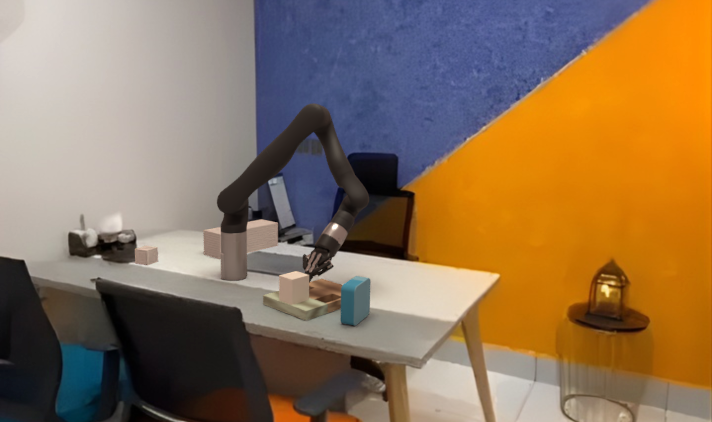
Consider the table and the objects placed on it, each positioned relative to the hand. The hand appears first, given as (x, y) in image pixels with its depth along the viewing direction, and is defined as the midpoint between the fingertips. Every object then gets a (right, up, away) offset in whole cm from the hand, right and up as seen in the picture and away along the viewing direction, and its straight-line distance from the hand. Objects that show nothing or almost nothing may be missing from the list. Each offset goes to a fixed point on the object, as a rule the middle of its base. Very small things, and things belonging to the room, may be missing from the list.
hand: (303, 283), depth 185 cm
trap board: (+3, -7, +5) cm, 9 cm away
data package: (+16, -10, -9) cm, 21 cm away
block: (-3, -5, -2) cm, 6 cm away
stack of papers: (-33, +6, +69) cm, 77 cm away
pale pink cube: (-66, +2, +46) cm, 81 cm away
